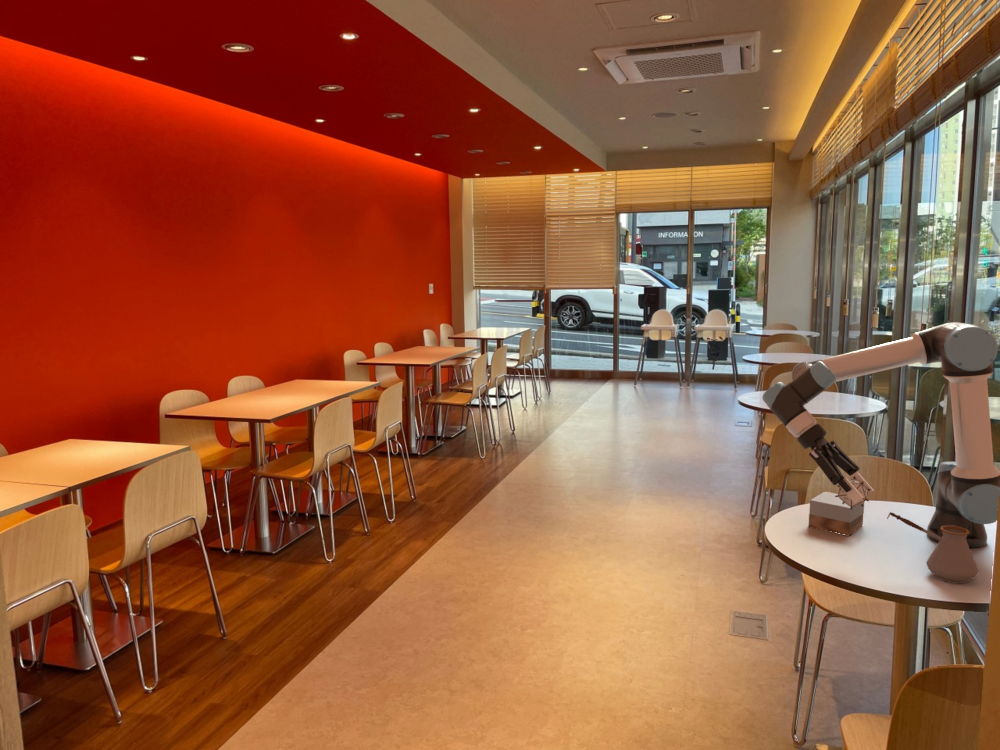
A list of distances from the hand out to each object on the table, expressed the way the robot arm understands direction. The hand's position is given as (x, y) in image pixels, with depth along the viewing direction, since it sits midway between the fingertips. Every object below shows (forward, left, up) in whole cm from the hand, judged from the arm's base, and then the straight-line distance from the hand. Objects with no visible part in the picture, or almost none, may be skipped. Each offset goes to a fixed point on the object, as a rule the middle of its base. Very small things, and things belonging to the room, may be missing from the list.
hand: (864, 496), depth 201 cm
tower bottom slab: (+15, -24, -19) cm, 34 cm away
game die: (+3, -1, -4) cm, 5 cm away
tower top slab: (+15, -24, -14) cm, 31 cm away
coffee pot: (-16, -3, -18) cm, 25 cm away
